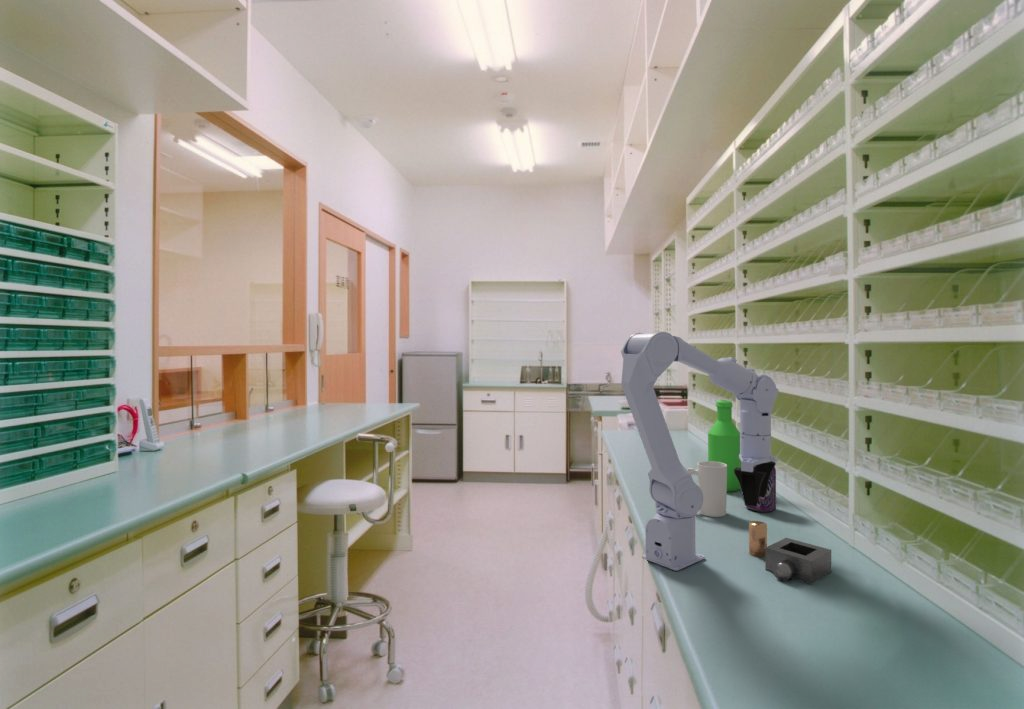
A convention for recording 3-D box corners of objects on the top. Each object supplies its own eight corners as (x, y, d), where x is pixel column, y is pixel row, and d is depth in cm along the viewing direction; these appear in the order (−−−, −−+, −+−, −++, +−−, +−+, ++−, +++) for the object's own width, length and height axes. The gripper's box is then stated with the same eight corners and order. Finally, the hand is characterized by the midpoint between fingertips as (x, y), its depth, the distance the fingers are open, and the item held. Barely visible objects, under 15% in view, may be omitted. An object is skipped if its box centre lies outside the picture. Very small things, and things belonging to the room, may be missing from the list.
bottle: (701, 486, 155) (701, 400, 154) (723, 482, 158) (723, 398, 158) (725, 494, 147) (725, 403, 146) (748, 490, 150) (748, 401, 150)
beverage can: (743, 511, 132) (743, 462, 132) (745, 503, 138) (745, 457, 138) (775, 515, 128) (775, 465, 128) (776, 507, 135) (776, 459, 134)
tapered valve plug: (761, 558, 103) (761, 527, 103) (745, 553, 105) (745, 523, 105) (770, 554, 105) (770, 523, 105) (754, 549, 107) (754, 519, 107)
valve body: (804, 588, 90) (804, 565, 90) (758, 573, 96) (758, 551, 96) (837, 568, 98) (837, 546, 98) (792, 555, 104) (792, 534, 104)
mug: (724, 509, 133) (724, 461, 133) (729, 518, 126) (729, 467, 126) (682, 507, 135) (682, 460, 135) (685, 516, 128) (685, 466, 128)
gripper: (769, 440, 100) (769, 513, 100) (783, 430, 112) (783, 495, 112) (730, 437, 104) (730, 506, 104) (747, 427, 116) (747, 490, 116)
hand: (755, 500), depth 108 cm, fingers open, 7 cm apart
